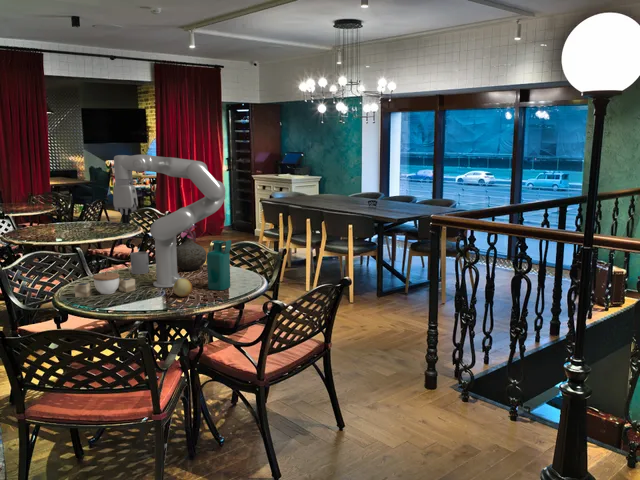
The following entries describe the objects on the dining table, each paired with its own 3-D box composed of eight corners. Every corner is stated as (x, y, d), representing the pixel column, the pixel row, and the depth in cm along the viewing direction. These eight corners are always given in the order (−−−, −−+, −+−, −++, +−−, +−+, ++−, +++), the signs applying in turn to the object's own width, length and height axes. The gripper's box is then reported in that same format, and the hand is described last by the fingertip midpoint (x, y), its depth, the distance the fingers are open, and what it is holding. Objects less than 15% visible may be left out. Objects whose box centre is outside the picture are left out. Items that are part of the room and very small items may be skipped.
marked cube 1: (91, 294, 255) (90, 282, 254) (87, 297, 250) (86, 285, 249) (80, 294, 255) (79, 282, 254) (75, 297, 250) (74, 285, 249)
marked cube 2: (135, 290, 262) (134, 278, 261) (126, 292, 258) (125, 280, 257) (128, 288, 265) (128, 277, 264) (119, 290, 261) (118, 279, 260)
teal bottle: (206, 289, 262) (204, 241, 258) (215, 285, 270) (214, 238, 266) (225, 291, 258) (224, 242, 255) (234, 287, 266) (233, 239, 263)
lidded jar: (96, 296, 250) (94, 275, 249) (93, 291, 259) (91, 270, 258) (122, 293, 255) (120, 272, 253) (118, 288, 264) (117, 268, 263)
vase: (175, 274, 293) (173, 215, 288) (171, 267, 309) (169, 211, 305) (209, 271, 299) (207, 213, 294) (203, 265, 315) (201, 210, 310)
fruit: (175, 294, 253) (175, 276, 252) (194, 294, 253) (194, 276, 252) (171, 299, 246) (170, 280, 244) (190, 299, 246) (189, 280, 244)
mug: (146, 274, 294) (145, 254, 292) (129, 274, 294) (128, 254, 292) (152, 269, 306) (151, 250, 304) (136, 269, 306) (135, 250, 304)
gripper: (143, 182, 264) (145, 222, 267) (114, 182, 268) (117, 221, 271) (133, 183, 257) (136, 224, 260) (104, 183, 261) (107, 223, 264)
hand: (126, 223), depth 265 cm, fingers closed
